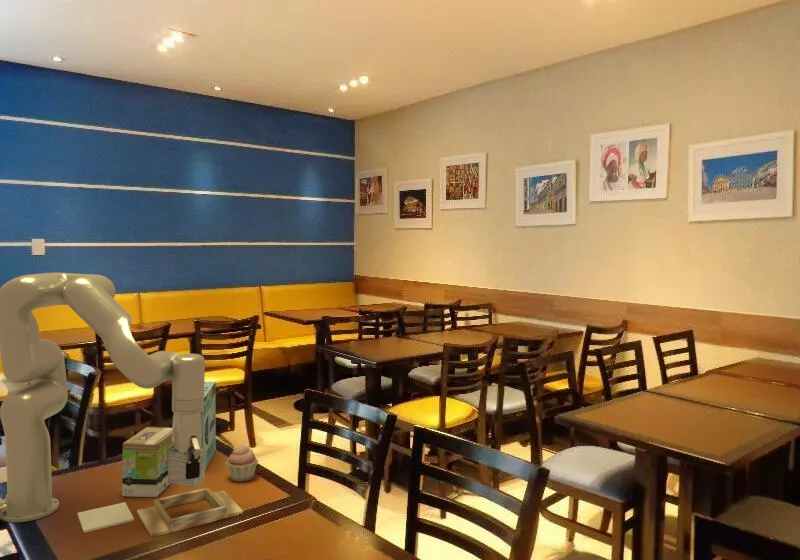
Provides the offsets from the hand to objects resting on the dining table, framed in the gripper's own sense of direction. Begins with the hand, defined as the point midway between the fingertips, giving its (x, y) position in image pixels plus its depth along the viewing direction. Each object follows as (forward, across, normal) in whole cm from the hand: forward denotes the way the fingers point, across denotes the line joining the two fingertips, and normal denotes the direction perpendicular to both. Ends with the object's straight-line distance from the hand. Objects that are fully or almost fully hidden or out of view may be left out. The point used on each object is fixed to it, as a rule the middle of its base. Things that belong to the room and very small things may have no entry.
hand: (187, 471), depth 151 cm
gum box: (+11, -33, +14) cm, 38 cm away
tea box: (+12, -22, -3) cm, 26 cm away
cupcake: (+11, -14, +20) cm, 27 cm away
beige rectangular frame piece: (+11, +1, +1) cm, 11 cm away
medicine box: (+3, 0, 0) cm, 3 cm away
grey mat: (+11, -8, -17) cm, 22 cm away
